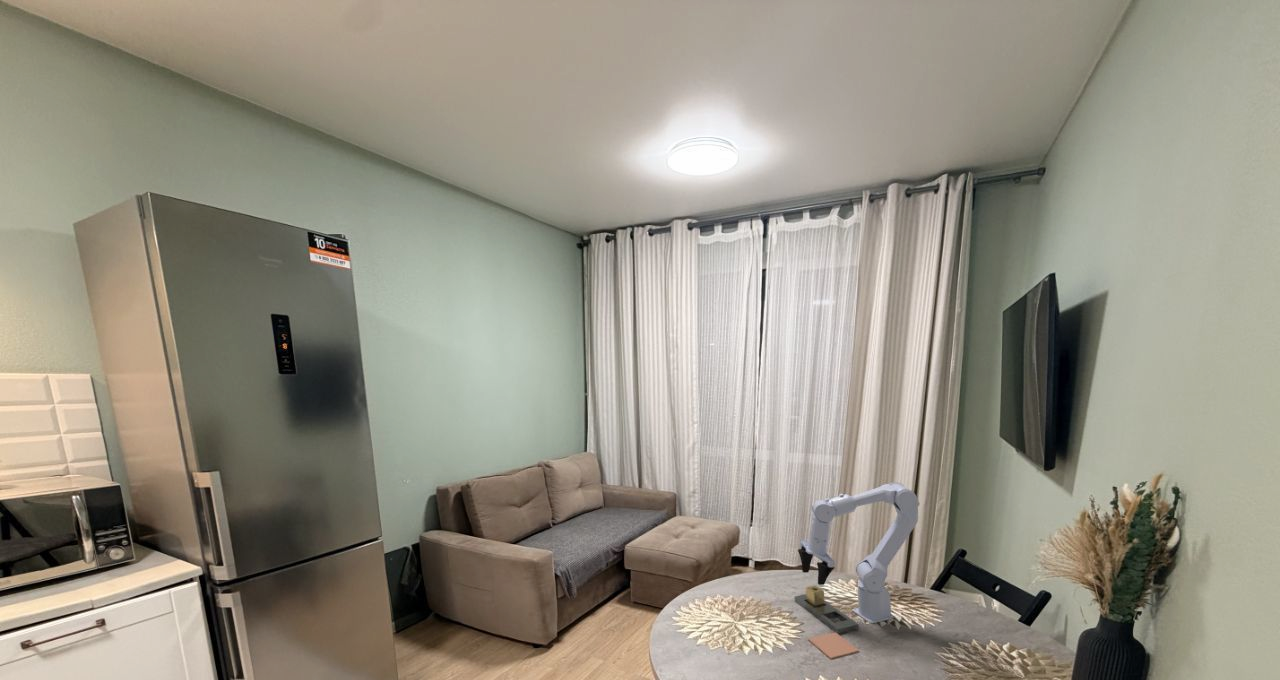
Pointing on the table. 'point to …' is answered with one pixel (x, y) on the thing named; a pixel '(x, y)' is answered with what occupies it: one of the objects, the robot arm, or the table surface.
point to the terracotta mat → (833, 645)
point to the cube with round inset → (814, 596)
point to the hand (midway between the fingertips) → (813, 578)
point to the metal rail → (829, 611)
